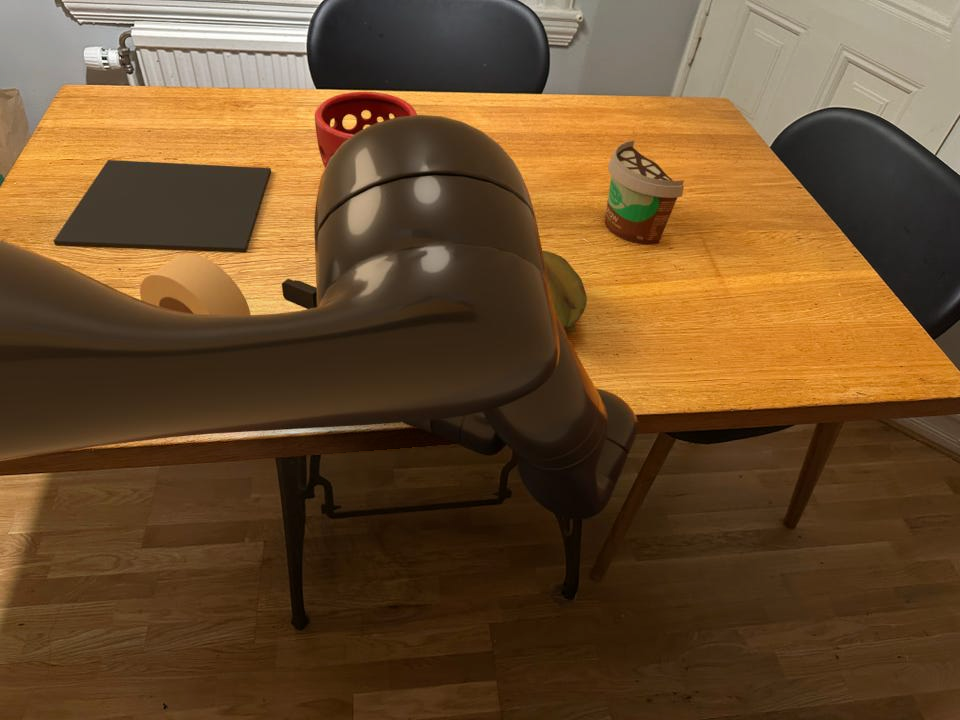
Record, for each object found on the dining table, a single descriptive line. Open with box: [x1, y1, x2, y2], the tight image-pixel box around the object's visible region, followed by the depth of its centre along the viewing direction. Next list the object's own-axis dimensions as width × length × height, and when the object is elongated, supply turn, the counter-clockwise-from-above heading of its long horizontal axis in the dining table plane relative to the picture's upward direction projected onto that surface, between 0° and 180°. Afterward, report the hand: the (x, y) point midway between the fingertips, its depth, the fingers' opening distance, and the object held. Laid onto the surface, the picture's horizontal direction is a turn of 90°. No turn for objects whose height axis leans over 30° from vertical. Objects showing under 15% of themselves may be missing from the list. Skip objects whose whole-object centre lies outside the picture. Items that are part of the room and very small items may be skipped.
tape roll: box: [139, 252, 252, 315], centre depth 69 cm, size 4×10×10 cm, turn 64°
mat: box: [53, 159, 272, 253], centre depth 91 cm, size 22×20×1 cm
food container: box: [604, 139, 685, 245], centre depth 93 cm, size 12×6×10 cm, turn 25°
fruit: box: [542, 250, 588, 333], centre depth 79 cm, size 11×12×7 cm
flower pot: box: [314, 91, 418, 169], centre depth 93 cm, size 13×13×12 cm
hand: (255, 311), depth 65 cm, fingers open, 8 cm apart
